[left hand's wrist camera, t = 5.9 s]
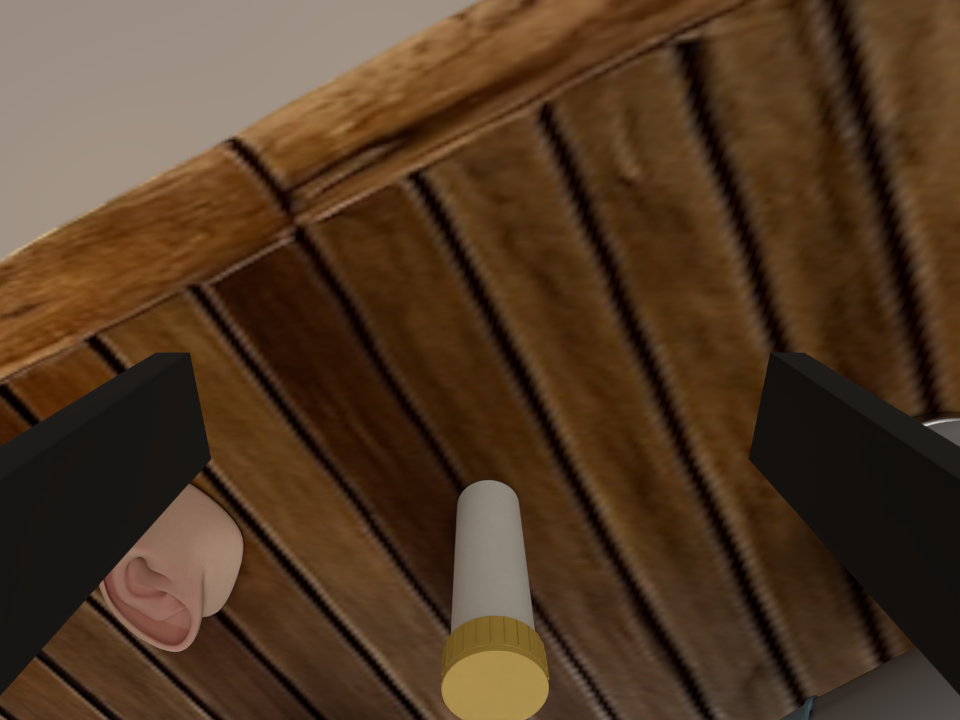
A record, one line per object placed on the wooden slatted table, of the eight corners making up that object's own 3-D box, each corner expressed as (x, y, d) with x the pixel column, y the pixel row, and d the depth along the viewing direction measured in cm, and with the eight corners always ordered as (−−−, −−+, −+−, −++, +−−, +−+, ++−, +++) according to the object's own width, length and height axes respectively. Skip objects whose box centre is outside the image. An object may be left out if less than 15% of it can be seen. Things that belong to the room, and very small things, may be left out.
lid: (499, 597, 29) (501, 632, 27) (565, 656, 31) (572, 693, 28) (421, 650, 30) (417, 687, 28) (488, 703, 32) (489, 742, 30)
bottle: (491, 468, 42) (500, 633, 27) (531, 508, 43) (559, 685, 29) (444, 503, 43) (429, 679, 29) (485, 541, 44) (490, 727, 30)
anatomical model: (101, 486, 37) (255, 557, 39) (135, 455, 41) (274, 522, 43) (43, 610, 41) (187, 668, 43) (79, 572, 45) (209, 627, 47)
